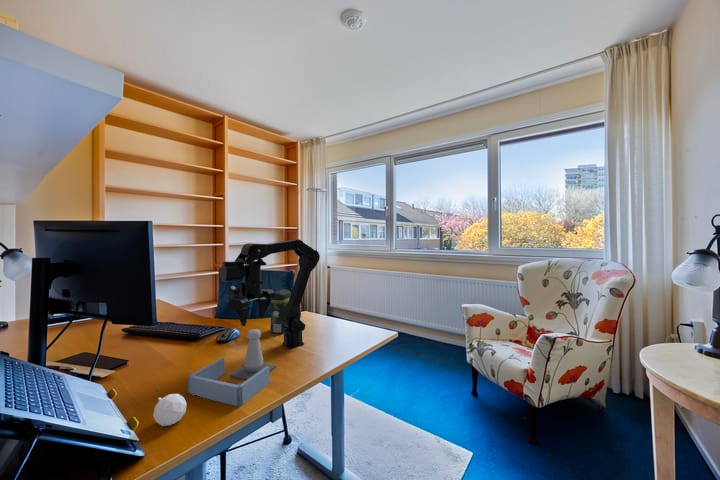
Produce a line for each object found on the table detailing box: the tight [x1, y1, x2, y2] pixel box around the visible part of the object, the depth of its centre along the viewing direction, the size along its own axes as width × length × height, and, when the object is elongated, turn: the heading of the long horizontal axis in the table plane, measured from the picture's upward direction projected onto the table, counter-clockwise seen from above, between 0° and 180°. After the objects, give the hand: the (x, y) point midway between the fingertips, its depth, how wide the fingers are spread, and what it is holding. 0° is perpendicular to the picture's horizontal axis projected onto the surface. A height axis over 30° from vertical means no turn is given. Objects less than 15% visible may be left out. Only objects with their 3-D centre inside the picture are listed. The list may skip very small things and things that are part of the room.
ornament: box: [152, 393, 188, 427], centre depth 70 cm, size 6×7×7 cm
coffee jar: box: [269, 288, 292, 334], centre depth 133 cm, size 10×8×19 cm
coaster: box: [229, 363, 277, 381], centre depth 95 cm, size 10×10×1 cm
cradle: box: [187, 357, 270, 408], centre depth 85 cm, size 12×18×5 cm
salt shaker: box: [244, 328, 264, 373], centre depth 95 cm, size 6×6×13 cm
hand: (252, 322), depth 105 cm, fingers open, 9 cm apart
